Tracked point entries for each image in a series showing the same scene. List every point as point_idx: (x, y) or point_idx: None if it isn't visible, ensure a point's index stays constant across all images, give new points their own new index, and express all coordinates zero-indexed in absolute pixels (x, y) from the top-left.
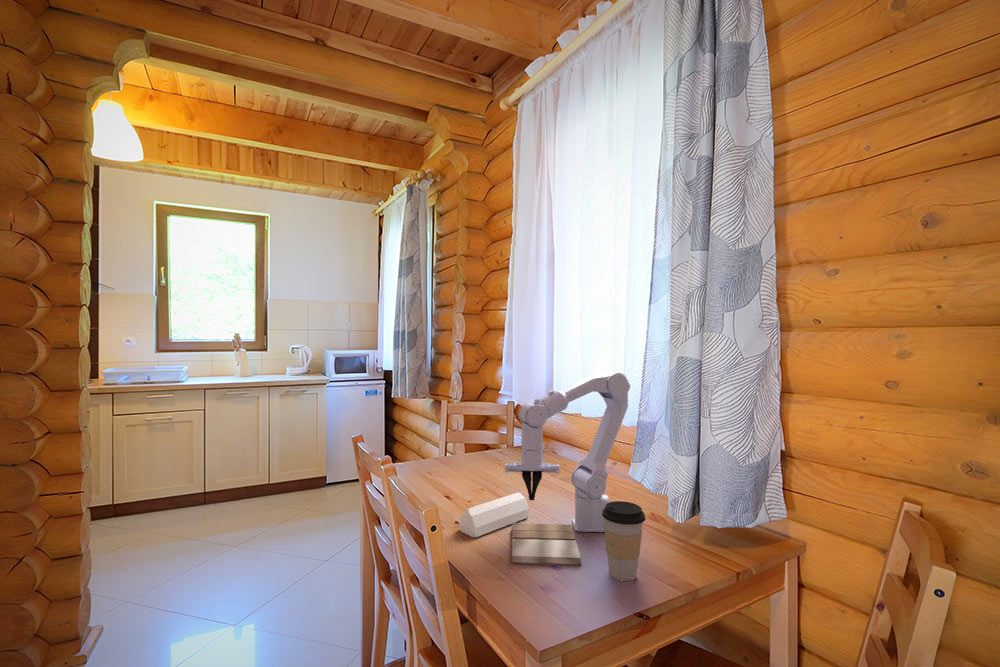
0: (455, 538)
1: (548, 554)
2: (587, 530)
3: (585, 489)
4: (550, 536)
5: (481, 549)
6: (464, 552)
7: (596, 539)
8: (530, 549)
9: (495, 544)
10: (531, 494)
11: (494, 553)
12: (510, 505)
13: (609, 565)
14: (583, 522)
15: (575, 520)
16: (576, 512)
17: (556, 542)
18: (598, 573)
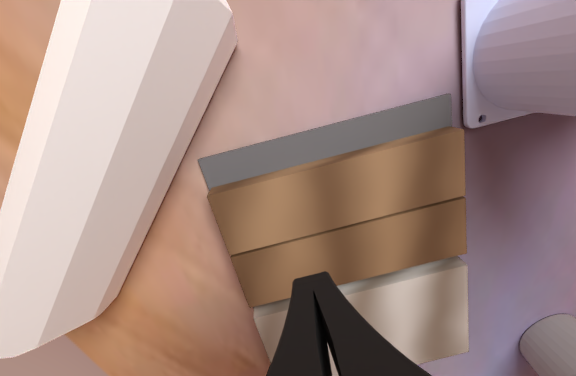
0: None
1: None
2: (516, 116)
3: None
4: (379, 262)
5: (172, 342)
6: (135, 369)
7: (530, 168)
8: None
9: (198, 305)
10: (329, 362)
11: (219, 349)
12: (137, 125)
13: (538, 372)
14: (526, 109)
15: (488, 70)
16: (529, 82)
17: (401, 296)
18: (493, 349)
